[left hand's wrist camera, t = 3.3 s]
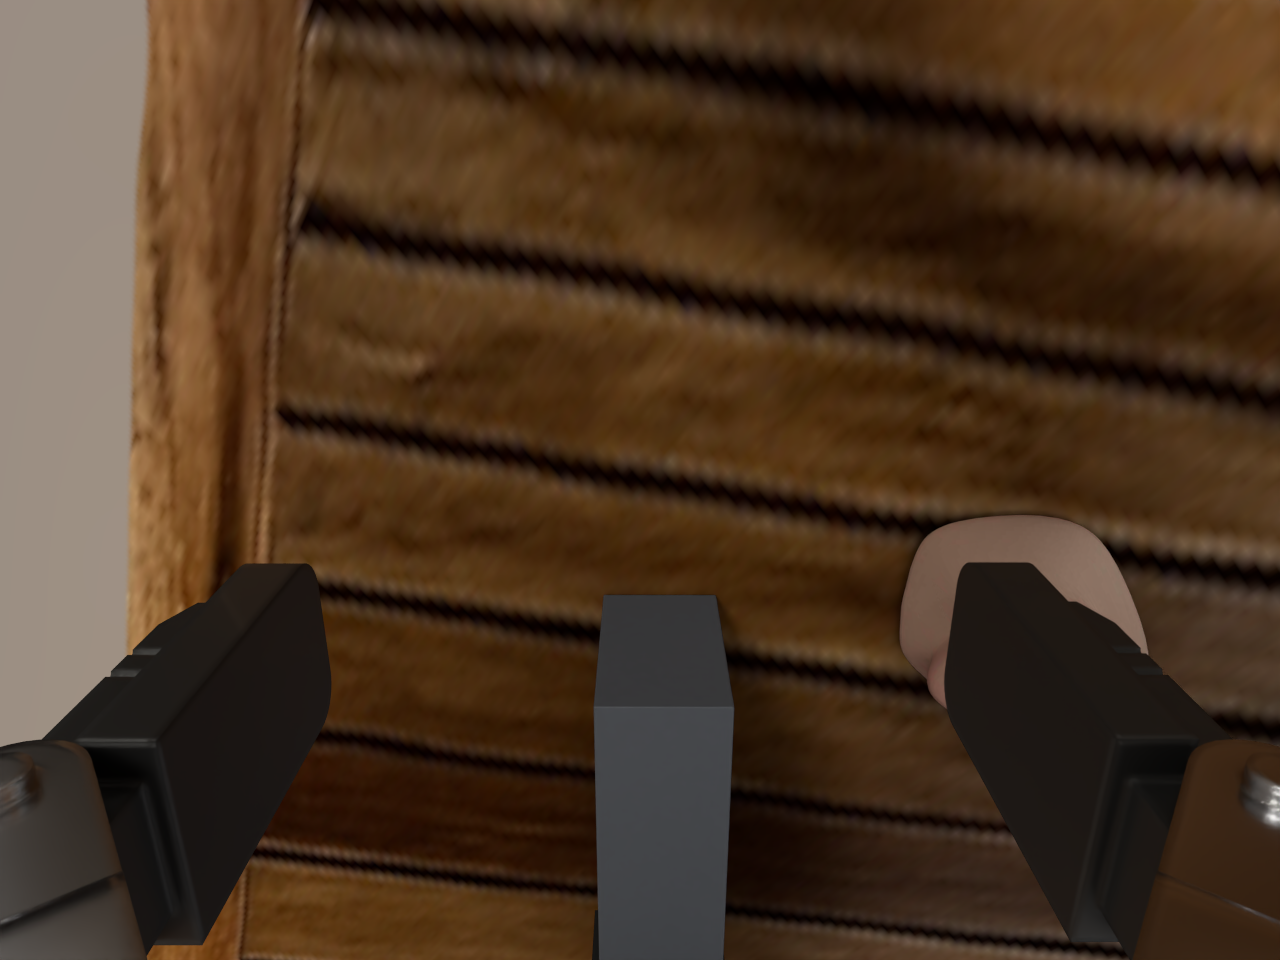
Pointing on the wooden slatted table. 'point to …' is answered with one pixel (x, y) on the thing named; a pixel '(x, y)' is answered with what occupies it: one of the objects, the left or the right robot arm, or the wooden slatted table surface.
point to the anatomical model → (1039, 540)
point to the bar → (662, 778)
